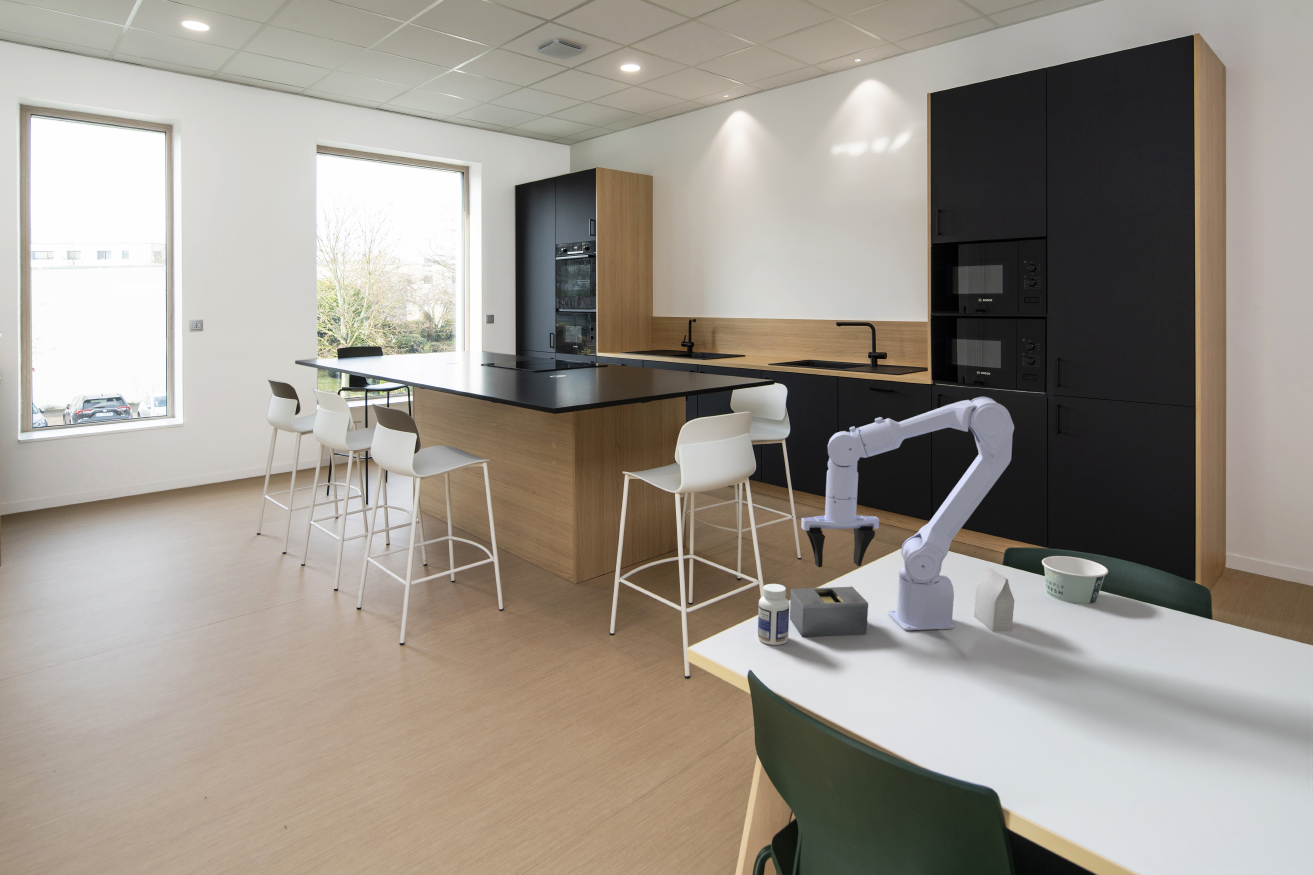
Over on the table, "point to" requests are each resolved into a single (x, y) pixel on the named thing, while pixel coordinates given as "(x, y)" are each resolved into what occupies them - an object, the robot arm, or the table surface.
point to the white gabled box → (994, 602)
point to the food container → (1073, 579)
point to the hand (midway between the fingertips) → (838, 564)
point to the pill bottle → (773, 615)
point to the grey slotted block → (828, 611)
